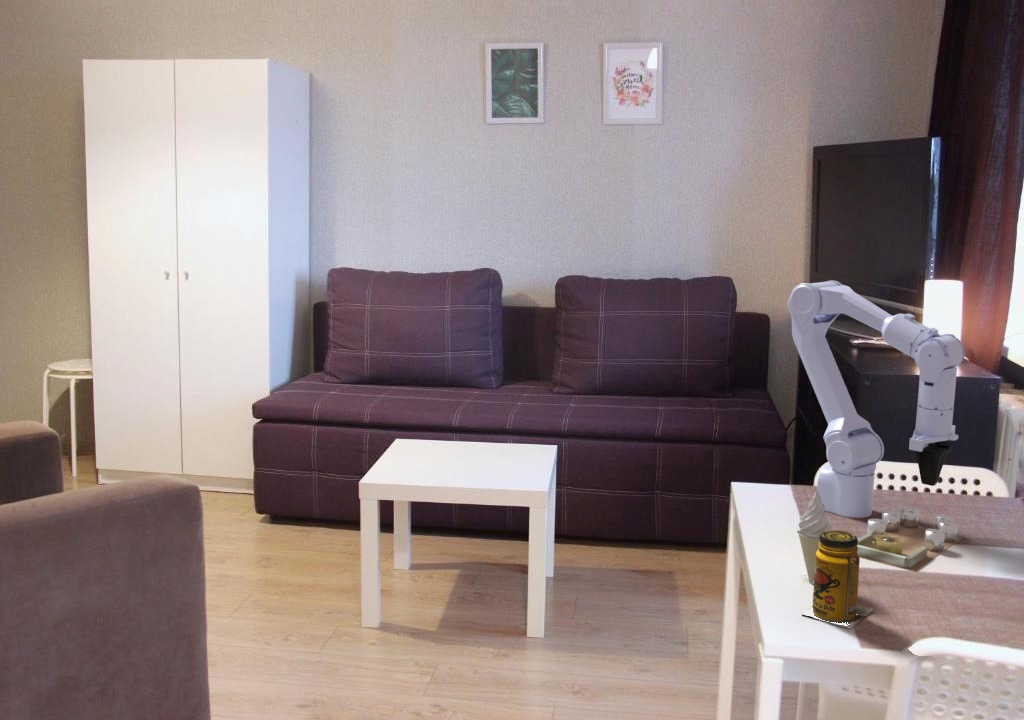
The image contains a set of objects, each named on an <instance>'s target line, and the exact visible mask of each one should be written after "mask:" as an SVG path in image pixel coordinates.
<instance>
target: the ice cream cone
mask: <svg viewBox="0 0 1024 720" xmlns="http://www.w3.org/2000/svg"><path fill="white" fill-rule="evenodd" d="M806 507H807V509H806V511H805V512H804V513H803V515H800V516H799V523H798V528H799V529H797V534H798V538H799V543H800V547H801V551H802V555H803V560H804V564H805V568H806V573H807V577H808V582H809V584H814V574H815V557H816V552H817V551H818V549H819V547H818V544H819V540H820V539H819V537H820V534H821V533H822V532H825V531H831V530H832V522H831V517H830V516H828V515H827V513H826V511H825V510H824V509H825V507H824V505H823V503H822V501H821V499H820V496H819V493H818V490H817V489H816V490H815V493H814V495H813V496H812V498H811V499H810V501H809V503H807V506H806Z"/></svg>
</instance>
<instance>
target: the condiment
mask: <svg viewBox="0 0 1024 720" xmlns="http://www.w3.org/2000/svg"><path fill="white" fill-rule="evenodd" d="M819 539H820V540H819V544H818V547H819V549H818V551H817V552H816V557H815V574H814V581H813V590H812V591H813V593H812V607H813V613H814V616H816V617H818V618H820V619H822V620H825V621H829V622H836V623H837V622H838V623H842V622H843V623H845V622H846V624H847V622H848V624H850V625H848V624H847V625H848V626H844V625H842V626H841V625H840V627H843V628H847V629H852V628H853V627H854V626H856V625H857V624H858V623H859V622H860V621H862V620H863V619H864V618H865V617H866V616H869V614H870V613H871V612H872V611H874V608H871V607H865V606H859V605H858V593H859V591H858V590H859V575H860V573H859V572H860V561H861V560H860V559H861V558H859V555H858V553H857V551H858V547H857V544H858V539H859V538H858V537H857V536H856V535H855V534H853V533H851V532H848V531H843V530H834V529H833V530H832V529H831V531H825V532H822V533H821V534H820V537H819ZM856 614H858V615H856ZM852 622H853V623H852ZM854 624H855V625H854ZM848 627H849V628H848Z"/></svg>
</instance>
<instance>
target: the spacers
mask: <svg viewBox="0 0 1024 720" xmlns="http://www.w3.org/2000/svg"><path fill="white" fill-rule="evenodd" d="M881 512H882V513H881V518H868V520H867V527H866V534H867V533H870V534H873V537H872V541H875V536H879V535H886V532H892V533H895V532H899V529H900V526H901V527H904V528H909V529H915V528H918V526H919V519H920V518H919V517H920V509H919V508H916V507H912V506H903V507H901V508H900V512H898V511H896V510H889V509H888V510H882V511H881ZM958 528H959V523H958V522H956V521H955V517H954V516H952V515H949V514H945V513H944V514H943V513H940V514H938V513H937V514H936V515H935V516H934V527H933V528H931V529H926V530H925V542H924V547H928V550H927V551H930V552H942V553H944V552H943V550H944V542H945V543H955V542H956V541H957V535H958V530H959V529H958ZM955 544H956V543H955Z"/></svg>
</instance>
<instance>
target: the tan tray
mask: <svg viewBox="0 0 1024 720" xmlns="http://www.w3.org/2000/svg"><path fill="white" fill-rule="evenodd" d="M926 529H932V528H931V527H925V526H923V525H918V528H915V529H909V528H904V527H901V526H900V529H899V532H895V533H892V532H886V535H890V536H895V537H899V538H901V540H902V542H903V545H902V556H901V555H897V554H893V553H889V552H885V551H881V550H877V549H874V542H875V541H872V537H873V534H870V533H867V532H866V534H864V535H862V536H861V537H859V538H857V539H858V544H857V547H858V551H857V553H858V555H859V558H860V559H864V560H867V561H872V562H874V563H879V564H884V565H886V566H890V567H894V568H895V567H896V568H899V569H902V570H907V571H910V572H914V573H916V572H917V571H919V570H920V569H921V568H923V567H925V566H926V565H927V564H928V563H930V562H931V561H932V560H934V559H935V558H937V557H938V556H940V555H941V554H942V553H944V552H946V551H947V550H949V549H950V548H951V547H953V546H954V545H955V544H957V543H958V542H959V541H961V540H963V538H965V537H966V535H961V534H957V541H956V542H955V543H945V542H944V550H943V552H930V551H927V550H928V547H924V542H925V530H926Z"/></svg>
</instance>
